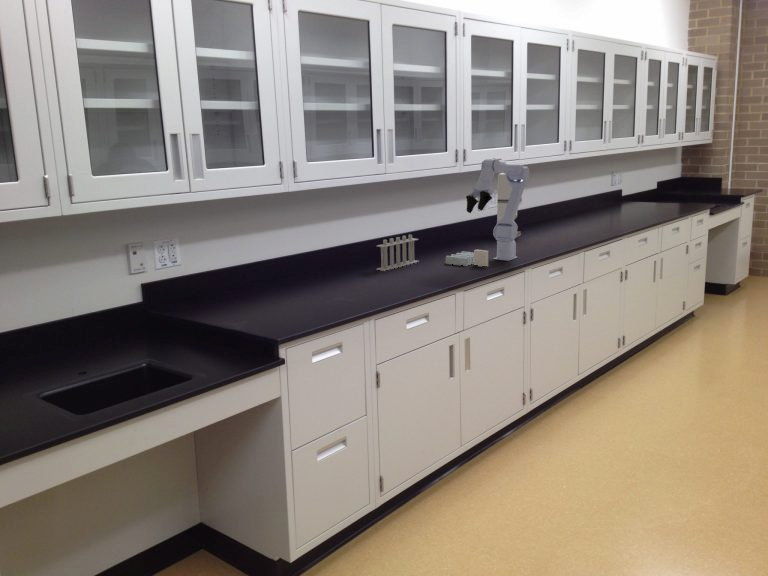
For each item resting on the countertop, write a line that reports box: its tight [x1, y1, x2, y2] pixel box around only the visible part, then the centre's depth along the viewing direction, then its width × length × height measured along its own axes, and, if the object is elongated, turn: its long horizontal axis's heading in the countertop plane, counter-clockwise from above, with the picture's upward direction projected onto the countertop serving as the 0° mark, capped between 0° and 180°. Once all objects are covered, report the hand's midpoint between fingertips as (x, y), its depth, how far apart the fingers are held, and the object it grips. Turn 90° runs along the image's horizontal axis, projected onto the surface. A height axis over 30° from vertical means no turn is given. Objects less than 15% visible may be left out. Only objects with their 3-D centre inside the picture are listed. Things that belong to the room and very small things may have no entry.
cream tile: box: [473, 249, 489, 267], centre depth 298 cm, size 2×6×7 cm, turn 52°
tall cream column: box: [496, 172, 523, 239], centre depth 376 cm, size 11×11×35 cm
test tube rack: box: [376, 234, 420, 272], centre depth 301 cm, size 25×4×13 cm, turn 140°
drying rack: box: [445, 250, 474, 267], centre depth 307 cm, size 14×11×4 cm
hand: (474, 210), depth 287 cm, fingers open, 7 cm apart
